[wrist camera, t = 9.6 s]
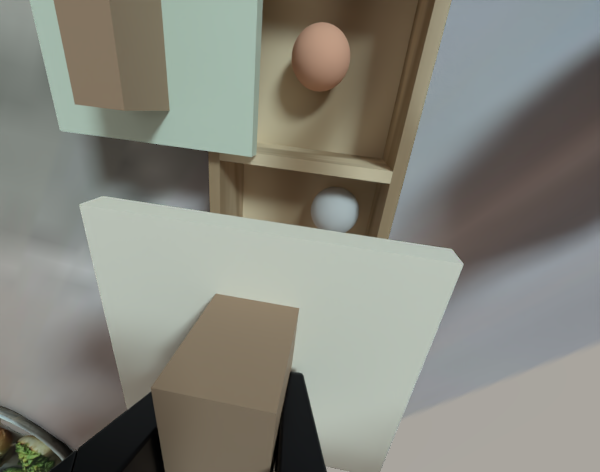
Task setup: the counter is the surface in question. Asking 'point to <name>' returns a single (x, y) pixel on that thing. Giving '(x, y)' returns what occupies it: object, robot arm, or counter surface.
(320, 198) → the ball
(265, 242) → the lid
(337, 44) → the ball
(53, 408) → the counter surface
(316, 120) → the box
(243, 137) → the cover
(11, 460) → the salad plate
